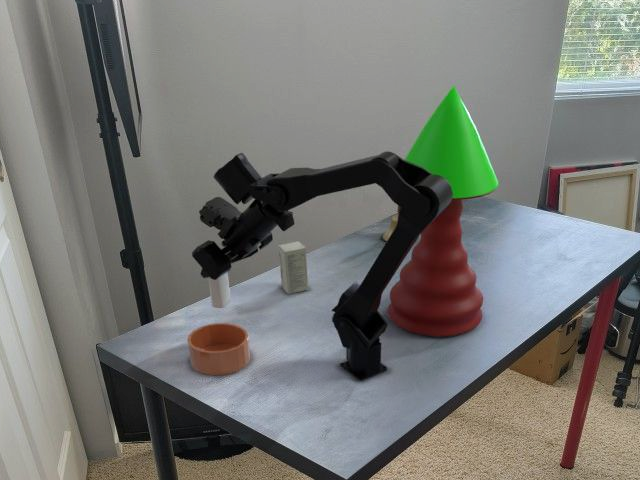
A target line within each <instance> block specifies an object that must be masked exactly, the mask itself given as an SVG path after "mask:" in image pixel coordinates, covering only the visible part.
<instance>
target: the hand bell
mask: <svg viewBox="0 0 640 480" xmlns="http://www.w3.org/2000/svg"><path fill="white" fill-rule="evenodd" d="M400 208H401V207H400V206H399V205H397V213H396V214H394V215H393V216H392V217H391V220H390V224H389V228H388V229H387V231H385V233H383V235H382V239H383V240H384V241H385V242H387V241H388V239H389V237H390V236H391V234H392V232H393V231H394V229H395V227H396V225H397V220H398V214H399V210H400Z"/></svg>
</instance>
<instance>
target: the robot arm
mask: <svg viewBox="0 0 640 480" xmlns="http://www.w3.org/2000/svg"><path fill="white" fill-rule="evenodd" d="M213 179H214V180H215V181H216V182H217V184H218V185H219V186H220V187H221V188H222V190H223V191H224V192H225V193H226V194H227V196H229V198H230V199H231V200H232V201H233V203H234V204H235V205H239V204H240V203H242V204H243V205H246V204H248V203H249V202H250V201H252V200H253V199H254V200H253V201H252V202H251V203H250V204H249V205H248V206H247V207H246V208H245V210H244V211H242V212H241V211H240V210H239V209H238V207H236V206H235V205H233V204H232V203H231V202H229V201H228V200H226V199H225V198H223V197H221V196H216V197H214V198H212V199H210V200H208V201H206V202H205V204H204V205H202V208H201V209H200V210H199V211H198V213H199V221H200V222H201V223H203V224H204V225H205V226H207V227H209V228H215V229H217V231H219V232H217V236H218V237H219V238H220V239H221V240H222V241H221V242H220V245H221V246H222V247H223V248H221V247H220V246H219V245H218V244H217V243H216V242H215V241H214V240H210V239H208V240H206V241H204V242H203V243H201V244H199V245H198V246H196V248H195V249H194V250H193V251H192V252H191V257H192V258H193V259H194V260H195V261H196V263H197V264H198V265H199V266H200V268H201V271H200V276H201V277H202V278H203V279H208V277H210V278H211V279H214V280H216V279H218V278H219V277H221V276H222V275H224V274H225V273H227V272H230V271H231V269H232V264H234V263H237V262H239V261H242V260H245V259H248V258H250V257H253V256H254V255H255V254H258V252H259V250H263V249H265V248H266V247H268V246H269V244H271V243H272V242H273V241H274V240H273V239H274V238H273V233H272V231H273V230H274V229H275V228H276V227H278V228H279V229H280V230H281V232H286V231H287V230H289V229H290V228H292V227H293V226H294V225H295V224H296V223H295V217H294V212H293V211H291V210H293V209H295V208H297V207H299V206H301V205H303V204H305V203H307V202H309V201H311V200H313V199H315V198H317V197H321V196H325V195H329V194H334V193H338V192H343V191H347V190H352V189H356V188H361V187H365V186H370V185H374V184H375V185H376V184H377V186H379V187H380V188H381V189H382V190H383V191H384V193H386V195H387V196H388V197H389V198H390V200H391V201H392V202H393V203H394V204H396V205H397V206H398V205H399V206H400V207H401V208H400V210H399V214H398V220H397V225H396V227H395V229H394V231H393V232H392V234H391V236H390V237H389V239H388V241H385V244H384V245H383V247H382V249H381V250H380V252H379V253H378V255H377V256H376V259H375V260H374V262H373V263H372V265H371V267H370V269H368V271H367V273H366V275H365V276H364V278H363V280H362V281H361V283H360V284H359V282H358V281H355V282H353V283H352V284H351V285H350V286H348V288H346V290H345V291H344V292H342V293H341V295H340V297H339V299H338V302H337V304H336V305H335V306H334V307H333V308H332V309H331V312H332V313H333V315H332V318H331V322H332V324H333V327H334V328H335V330H336V331H337V334H338V337H339V340H340V343H341V346H342V348H344V349H345V351H346V352H345V356H346V357H345V358H346V360H345V361H343V362H341V363H340V364H339V367H340V368H341V369H343V370H344V371H346V372H347V373H349V375H351V376H353V377H354V378H355V379H356V380H358V381H364V380H366V379H370V378H371V377H374V376H376V375H378V374H382V373H384V372H386V371H388V367H387V366H386V365H384V364H383V363H382V342H381V339H380V337H381V336H382V335H383V334H384V333H385V332H386V330H387V328H388V326H389V322H387V320H386V319H385V318H384V316H383V315H382V314H381V313H380V312H379V308H380V305H381V302H382V295H383V293H384V291H385V290H386V288H387V286H388V285H389V283H390V282H391V280H392V279H393V278H394V276H395V274H396V273H397V271H398V269H399V268H400V267H401V265H402V264H403V262H404V260H405V259H406V257H407V255H408V254H409V252H410V251H411V249H412V248H413V246H415V243H416V242H417V240H418V238H420V236H421V233H422V232H423V231H424V230H425V229H426V228H427V227H428V226H429V225H430V224H431V223H432V222H433V221H434V220H435V218H436V217H437V216H438V215H439V214H440V213H441V212H442V211H443V210H444V209H445V208H446V207H447V206H448V205H449V204H450V202H451V200H452V197H453V193H452V188H451V186H450V184H449V182H448V181H447V180H446V179H445V178H444V177H442V176H440V175H435V174H432V173H430V172H429V171H428V170H426V169H425V168H423V167H421V166H418V165H416V164H413V163H411V162H408V161H405V159H404V158H402V157H401V156H399V155H398V154H396V153H395V152H393V151H387V150H386V151H383V152H381V153H379V154H376V155H372V156H368V157H364V158H360V159H356V160H352V161H348V162H344V163H339V164H335V165H332V166H331V165H330V166H327V167H323V168H311V167H290V168H288V169H286V170H284V171H282V172H280V173H269V174H267V175H265V176H263V177H262V176H261V175H260V173H259V172H258V170H256V168H255V167H254V166H253V165H252V163H251V162H250V161H249V159H248V158H247V156H246V155H245V154H244V153H243V152H240V153H237V154H236V155H234V156H233V157H232V159H230V160H229V161H227V162H226V163H225V164H224V165H223V166H221V167H220V168H218V169H217V170H216V172H215V173H214V175H213ZM259 244H260V245H259Z"/></svg>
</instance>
